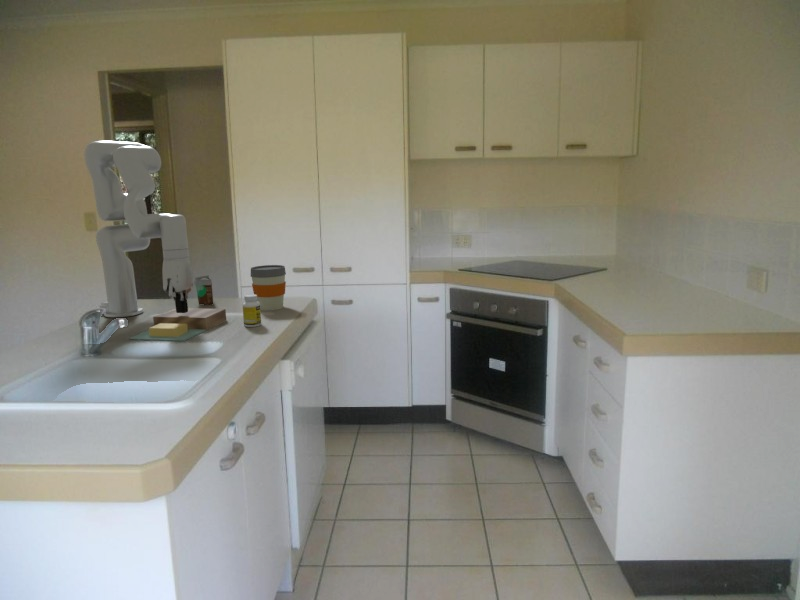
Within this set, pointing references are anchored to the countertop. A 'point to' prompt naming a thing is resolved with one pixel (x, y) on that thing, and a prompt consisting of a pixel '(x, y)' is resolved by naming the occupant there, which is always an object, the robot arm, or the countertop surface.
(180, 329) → the yellow sponge
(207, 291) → the food container
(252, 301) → the supplement bottle
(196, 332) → the mat
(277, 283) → the reusable coffee cup
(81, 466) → the countertop surface
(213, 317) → the brown wooden block
